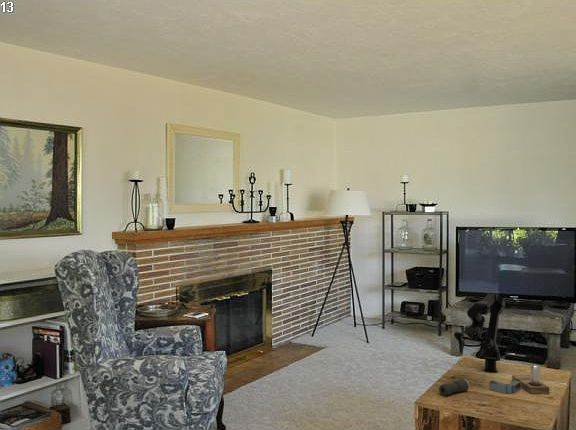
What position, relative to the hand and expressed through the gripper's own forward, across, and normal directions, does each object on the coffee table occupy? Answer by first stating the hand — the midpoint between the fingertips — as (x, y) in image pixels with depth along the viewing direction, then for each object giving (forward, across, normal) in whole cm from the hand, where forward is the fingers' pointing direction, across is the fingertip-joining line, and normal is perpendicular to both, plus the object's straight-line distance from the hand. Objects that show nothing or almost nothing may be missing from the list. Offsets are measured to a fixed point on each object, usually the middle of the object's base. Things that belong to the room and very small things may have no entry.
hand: (469, 355), depth 277 cm
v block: (+10, +17, +11) cm, 23 cm away
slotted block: (+3, +24, +22) cm, 32 cm away
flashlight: (+21, -1, -4) cm, 21 cm away
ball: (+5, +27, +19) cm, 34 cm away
